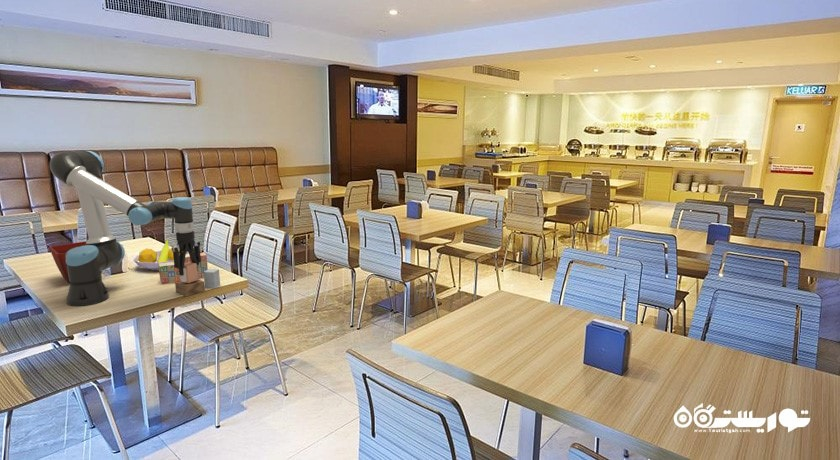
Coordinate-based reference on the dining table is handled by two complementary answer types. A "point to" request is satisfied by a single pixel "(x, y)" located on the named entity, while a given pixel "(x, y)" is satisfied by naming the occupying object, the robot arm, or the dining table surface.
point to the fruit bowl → (154, 257)
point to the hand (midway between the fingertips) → (189, 279)
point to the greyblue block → (211, 278)
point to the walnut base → (190, 287)
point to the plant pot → (63, 256)
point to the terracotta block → (191, 272)
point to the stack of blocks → (172, 274)
